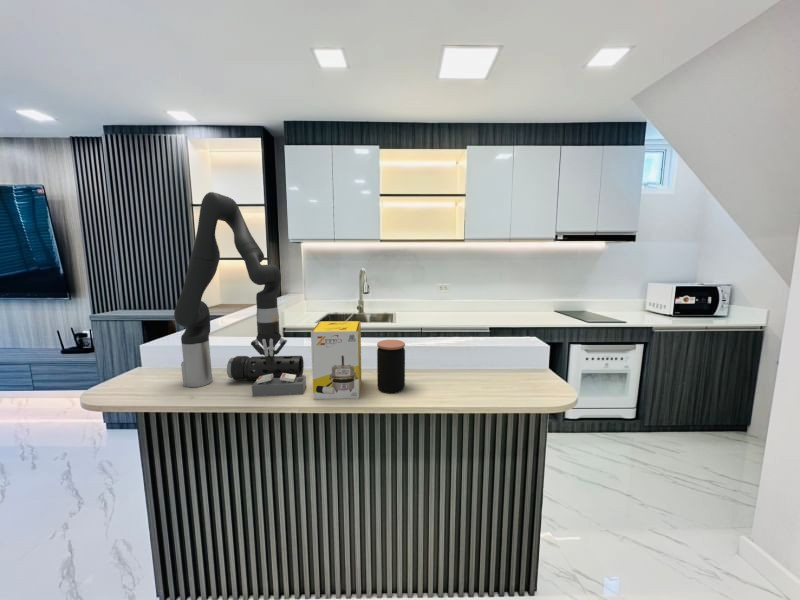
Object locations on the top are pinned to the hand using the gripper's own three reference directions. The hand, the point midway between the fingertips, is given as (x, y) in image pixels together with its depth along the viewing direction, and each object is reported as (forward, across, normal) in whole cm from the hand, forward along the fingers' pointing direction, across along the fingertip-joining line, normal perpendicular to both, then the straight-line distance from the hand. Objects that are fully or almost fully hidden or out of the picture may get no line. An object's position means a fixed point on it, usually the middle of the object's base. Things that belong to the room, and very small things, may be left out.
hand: (270, 365), depth 123 cm
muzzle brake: (+11, -5, +12) cm, 17 cm away
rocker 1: (+6, -2, 0) cm, 6 cm away
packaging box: (+11, +25, -1) cm, 27 cm away
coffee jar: (+10, +45, -2) cm, 46 cm away
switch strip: (+10, +3, 0) cm, 11 cm away
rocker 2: (+6, +6, 0) cm, 8 cm away
